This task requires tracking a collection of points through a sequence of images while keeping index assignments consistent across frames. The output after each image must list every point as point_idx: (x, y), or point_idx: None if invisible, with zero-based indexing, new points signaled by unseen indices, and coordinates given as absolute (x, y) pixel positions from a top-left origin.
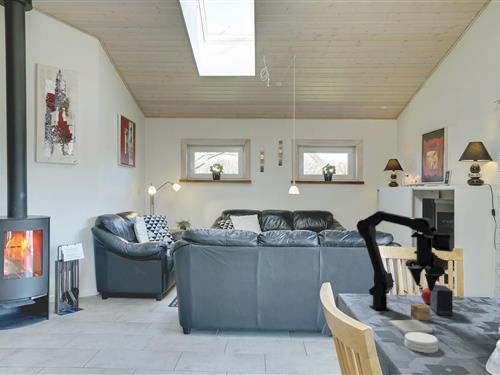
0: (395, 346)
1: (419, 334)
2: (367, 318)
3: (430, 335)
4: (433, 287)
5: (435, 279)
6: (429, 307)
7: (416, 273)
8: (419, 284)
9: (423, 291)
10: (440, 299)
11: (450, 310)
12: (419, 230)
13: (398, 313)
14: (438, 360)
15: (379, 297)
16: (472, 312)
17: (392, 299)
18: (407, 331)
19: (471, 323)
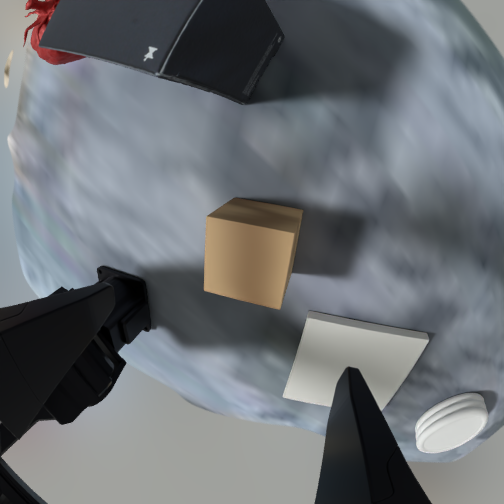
0: (409, 446)
1: (444, 432)
2: (221, 398)
3: (467, 417)
4: (373, 403)
5: (407, 501)
6: (294, 235)
7: (25, 375)
8: (105, 290)
9: (43, 56)
10: (219, 68)
11: (273, 33)
12: None
13: (183, 278)
14: (492, 418)
15: (118, 350)
16: None
17: (42, 164)
18: (383, 406)
19: (416, 47)
